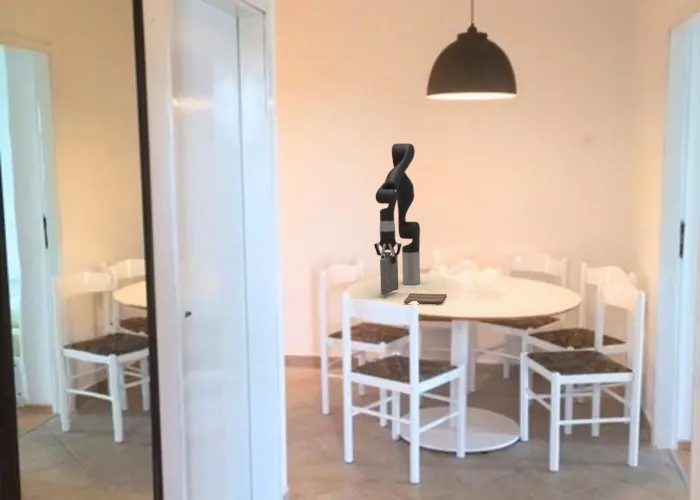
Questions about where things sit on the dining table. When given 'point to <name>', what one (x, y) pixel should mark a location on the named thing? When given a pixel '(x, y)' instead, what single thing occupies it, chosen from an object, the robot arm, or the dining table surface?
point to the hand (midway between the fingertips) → (388, 263)
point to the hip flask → (388, 274)
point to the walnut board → (426, 298)
